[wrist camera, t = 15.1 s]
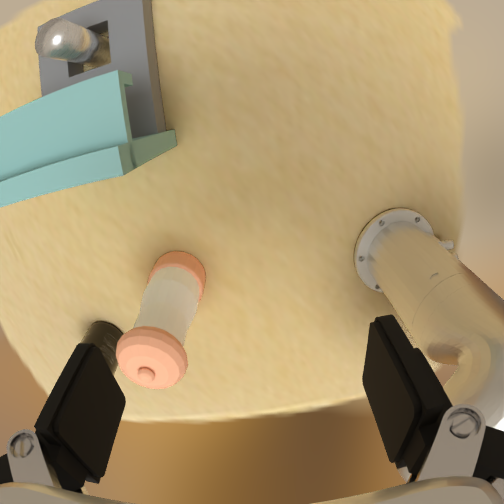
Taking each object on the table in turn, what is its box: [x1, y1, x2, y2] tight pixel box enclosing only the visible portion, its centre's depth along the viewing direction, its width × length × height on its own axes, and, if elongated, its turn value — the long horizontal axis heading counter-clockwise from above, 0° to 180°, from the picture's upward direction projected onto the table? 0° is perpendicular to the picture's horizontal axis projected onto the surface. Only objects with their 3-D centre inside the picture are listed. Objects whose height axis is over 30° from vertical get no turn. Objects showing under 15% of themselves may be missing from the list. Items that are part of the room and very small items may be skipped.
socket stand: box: [0, 0, 177, 207], centre depth 24 cm, size 16×20×18 cm
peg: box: [35, 18, 111, 68], centre depth 25 cm, size 4×4×12 cm
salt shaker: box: [116, 251, 206, 389], centre depth 34 cm, size 7×7×19 cm
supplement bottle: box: [81, 322, 123, 376], centre depth 42 cm, size 7×7×12 cm
